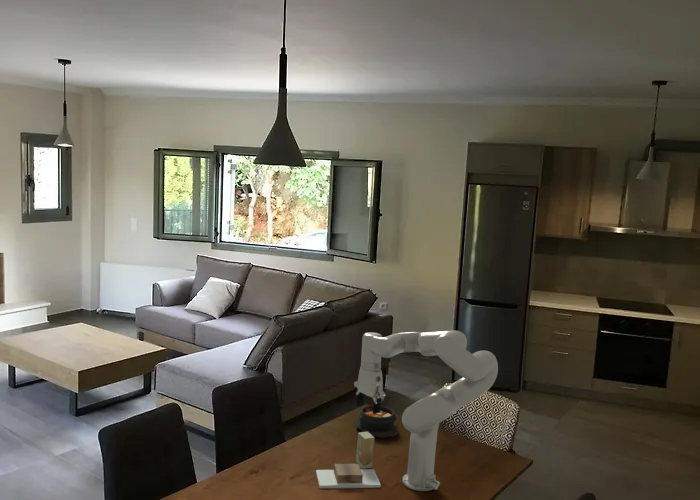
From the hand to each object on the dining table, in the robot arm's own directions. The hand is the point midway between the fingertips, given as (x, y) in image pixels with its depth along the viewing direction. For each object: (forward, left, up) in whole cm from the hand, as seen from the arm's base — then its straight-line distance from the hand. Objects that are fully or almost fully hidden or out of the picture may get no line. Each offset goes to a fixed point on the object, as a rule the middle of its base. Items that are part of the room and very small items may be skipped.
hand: (368, 409), depth 239 cm
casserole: (+24, -28, -23) cm, 43 cm away
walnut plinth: (-6, +13, -22) cm, 27 cm away
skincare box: (0, 0, -22) cm, 22 cm away
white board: (-6, +13, -22) cm, 27 cm away
